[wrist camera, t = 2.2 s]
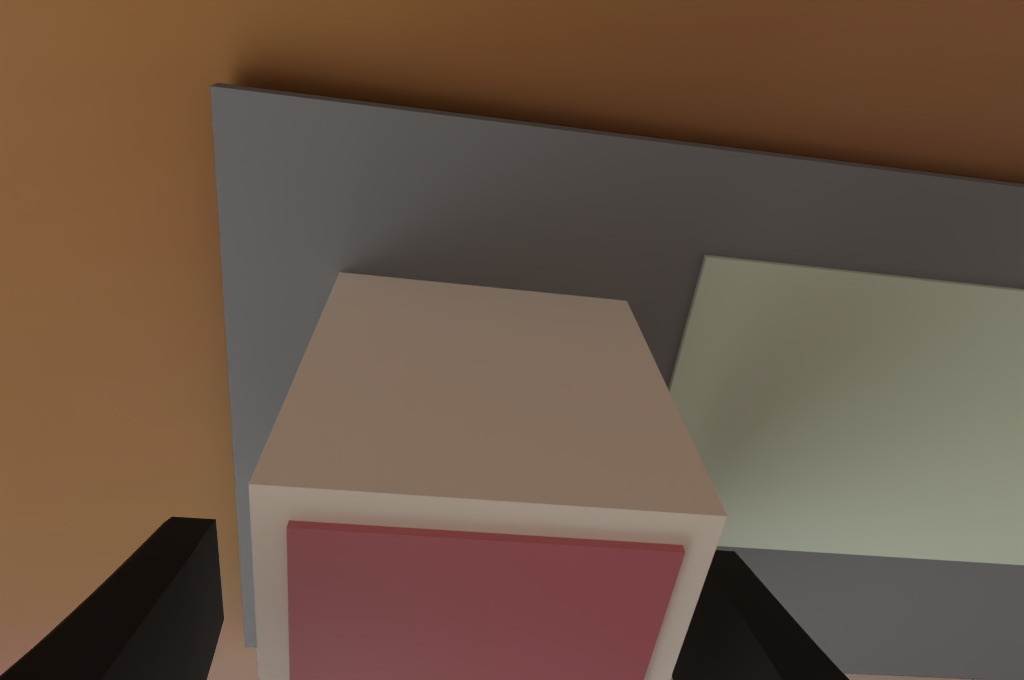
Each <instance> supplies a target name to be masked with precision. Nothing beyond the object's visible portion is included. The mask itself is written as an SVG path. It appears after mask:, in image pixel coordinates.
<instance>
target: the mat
mask: <svg viewBox="0 0 1024 680" xmlns="http://www.w3.org/2000/svg"><path fill="white" fill-rule="evenodd" d="M210 94H211V110H212V126H213V142H214V158H215V174H216V190H217V206H218V222H219V238H220V254H221V270H222V286H223V302H224V318H225V334H226V350H227V366H228V382H229V398H230V414H231V430H232V446H233V462H234V478H235V494H236V510H237V526H238V542H239V558H240V574H241V590H242V606H243V622H244V638H245V647H255V648H257V639H256V620H255V600H254V581H253V561H252V542H251V522H250V503H249V482H250V479H251V477H252V475H253V472H254V470H255V468H256V465H257V463H258V461H259V458H260V456H261V454H262V451H263V449H264V447H265V444H266V442H267V440H268V437H269V435H270V433H271V431H272V428H273V426H274V424H275V421H276V419H277V417H278V414H279V412H280V410H281V407H282V405H283V403H284V400H285V398H286V396H287V393H288V391H289V389H290V386H291V384H292V382H293V379H294V377H295V375H296V372H297V370H298V368H299V365H300V363H301V361H302V358H303V356H304V354H305V351H306V349H307V347H308V344H309V342H310V340H311V337H312V335H313V333H314V330H315V328H316V326H317V323H318V321H319V319H320V316H321V314H322V312H323V310H324V307H325V305H326V303H327V300H328V298H329V296H330V293H331V291H332V289H333V286H334V284H335V282H336V279H337V277H338V275H339V272H343V273H353V274H364V275H374V276H384V277H394V278H404V279H414V280H424V281H434V282H444V283H454V284H464V285H474V286H484V287H494V288H504V289H514V290H524V291H534V292H544V293H554V294H564V295H574V296H584V297H594V298H604V299H614V300H624V301H627V302H628V304H629V306H630V309H631V311H632V313H633V315H634V317H635V319H636V321H637V324H638V326H639V328H640V330H641V332H642V334H643V336H644V339H645V341H646V343H647V345H648V347H649V349H650V351H651V354H652V356H653V358H654V360H655V362H656V364H657V366H658V369H659V371H660V373H661V375H662V377H663V379H664V381H665V384H666V386H667V388H668V390H669V392H670V394H671V396H672V399H673V401H674V403H675V405H676V407H677V409H678V411H679V414H680V416H681V418H682V420H683V422H684V424H685V427H686V429H687V431H688V433H689V435H690V437H691V439H692V442H693V444H694V446H695V448H696V450H697V452H698V454H699V457H700V459H701V461H702V463H703V465H704V467H705V469H706V472H707V474H708V476H709V478H710V480H711V482H712V484H713V487H714V489H715V491H716V493H717V495H718V497H719V499H720V502H721V504H722V506H723V508H724V510H725V512H726V514H727V519H726V522H725V525H724V528H723V530H722V533H721V536H720V539H719V542H718V545H717V547H716V550H724V551H735V552H736V553H737V555H738V556H739V557H740V558H741V559H742V560H743V561H744V562H745V563H746V565H747V566H748V567H749V568H750V569H751V570H752V571H753V572H754V574H755V575H756V576H757V577H758V578H759V579H760V581H761V582H762V583H763V584H764V585H765V586H766V587H767V589H768V590H769V591H770V592H771V593H772V594H773V595H774V597H775V598H776V599H777V600H778V601H779V602H780V604H781V605H782V606H783V607H784V608H785V609H786V610H787V611H788V613H789V614H790V615H791V616H792V617H793V618H794V619H795V621H796V622H797V623H798V624H799V625H800V626H801V627H802V629H803V630H804V631H805V632H806V633H807V634H808V635H809V636H810V638H811V639H812V640H813V641H814V642H815V643H816V644H817V645H818V646H819V648H820V649H821V650H822V651H823V652H824V653H825V654H826V655H827V656H828V657H829V658H830V660H831V661H832V662H833V663H834V664H835V665H836V666H837V667H838V668H839V669H840V670H841V671H842V673H845V674H868V675H891V676H913V677H936V678H959V679H982V680H1024V184H1021V183H1013V182H1005V181H997V180H989V179H981V178H973V177H965V176H957V175H949V174H941V173H933V172H925V171H917V170H909V169H901V168H893V167H885V166H877V165H869V164H861V163H853V162H845V161H837V160H829V159H821V158H813V157H805V156H797V155H789V154H781V153H773V152H765V151H757V150H749V149H741V148H733V147H725V146H717V145H710V144H702V143H694V142H686V141H678V140H670V139H662V138H654V137H646V136H638V135H630V134H622V133H614V132H606V131H598V130H590V129H582V128H574V127H566V126H558V125H550V124H542V123H534V122H526V121H518V120H510V119H502V118H494V117H486V116H478V115H470V114H462V113H454V112H446V111H438V110H430V109H422V108H414V107H406V106H398V105H390V104H382V103H374V102H366V101H358V100H350V99H342V98H334V97H326V96H318V95H310V94H302V93H294V92H286V91H278V90H270V89H262V88H255V87H247V86H239V85H231V84H223V83H216V84H213V85H211V86H210Z"/></svg>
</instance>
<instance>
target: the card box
mask: <svg viewBox="0 0 1024 680" xmlns="http://www.w3.org/2000/svg"><path fill="white" fill-rule="evenodd" d="M249 503H250V522H251V542H252V561H253V581H254V600H255V620H256V639H257V659H258V678H259V680H670V679H671V676H672V673H673V670H674V667H675V664H676V661H677V659H678V656H679V653H680V650H681V647H682V644H683V642H684V639H685V636H686V633H687V630H688V627H689V624H690V622H691V619H692V616H693V613H694V610H695V607H696V604H697V602H698V599H699V596H700V593H701V590H702V587H703V585H704V582H705V579H706V576H707V573H708V570H709V567H710V565H711V562H712V559H713V556H714V553H715V550H716V547H717V545H718V542H719V539H720V536H721V533H722V530H723V528H724V525H725V522H726V519H727V514H726V512H725V510H724V508H723V506H722V504H721V502H720V499H719V497H718V495H717V493H716V491H715V489H714V487H713V484H712V482H711V480H710V478H709V476H708V474H707V472H706V469H705V467H704V465H703V463H702V461H701V459H700V457H699V454H698V452H697V450H696V448H695V446H694V444H693V442H692V439H691V437H690V435H689V433H688V431H687V429H686V427H685V424H684V422H683V420H682V418H681V416H680V414H679V411H678V409H677V407H676V405H675V403H674V401H673V399H672V396H671V394H670V392H669V390H668V388H667V386H666V384H665V381H664V379H663V377H662V375H661V373H660V371H659V369H658V366H657V364H656V362H655V360H654V358H653V356H652V354H651V351H650V349H649V347H648V345H647V343H646V341H645V339H644V336H643V334H642V332H641V330H640V328H639V326H638V324H637V321H636V319H635V317H634V315H633V313H632V311H631V309H630V306H629V304H628V302H627V301H624V300H614V299H604V298H594V297H584V296H574V295H564V294H554V293H544V292H534V291H524V290H514V289H504V288H494V287H484V286H474V285H464V284H454V283H444V282H434V281H424V280H414V279H404V278H394V277H384V276H374V275H364V274H353V273H343V272H339V275H338V277H337V279H336V282H335V284H334V286H333V289H332V291H331V293H330V296H329V298H328V300H327V303H326V305H325V307H324V310H323V312H322V314H321V316H320V319H319V321H318V323H317V326H316V328H315V330H314V333H313V335H312V337H311V340H310V342H309V344H308V347H307V349H306V351H305V354H304V356H303V358H302V361H301V363H300V365H299V368H298V370H297V372H296V375H295V377H294V379H293V382H292V384H291V386H290V389H289V391H288V393H287V396H286V398H285V400H284V403H283V405H282V407H281V410H280V412H279V414H278V417H277V419H276V421H275V424H274V426H273V428H272V431H271V433H270V435H269V437H268V440H267V442H266V444H265V447H264V449H263V451H262V454H261V456H260V458H259V461H258V463H257V465H256V468H255V470H254V472H253V475H252V477H251V479H250V482H249Z"/></svg>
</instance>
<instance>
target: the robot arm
mask: <svg viewBox="0 0 1024 680" xmlns="http://www.w3.org/2000/svg"><path fill="white" fill-rule="evenodd" d="M223 620H224V613H223V601H222V589H221V577H220V565H219V553H218V541H217V529H216V519H200V518H184V517H171V518H170V519H168V520H167V521H166V522H164V523H163V524H162V525H161V526H160V527H159V528H158V529H157V530H156V531H155V532H154V533H153V534H152V535H151V536H150V537H149V538H148V539H147V540H146V541H145V542H144V543H143V544H142V545H141V546H140V547H139V548H138V549H137V550H136V551H135V552H134V553H133V554H132V555H131V556H130V557H129V558H128V559H127V560H126V561H125V562H124V563H123V564H122V565H121V566H120V567H119V568H118V569H117V570H116V571H115V572H114V573H113V574H112V575H111V576H110V577H109V578H108V579H107V580H106V581H105V582H104V583H103V584H101V585H100V586H99V587H98V588H97V589H96V590H95V591H94V592H93V593H92V594H91V595H90V596H89V597H88V598H87V599H86V600H85V601H84V602H82V603H81V604H80V605H79V606H78V607H77V608H76V609H75V610H74V611H73V612H72V613H71V614H70V615H68V616H67V617H66V618H65V619H64V620H63V621H62V622H61V623H60V624H59V625H58V626H57V627H55V628H54V629H53V630H52V631H51V632H50V633H49V634H48V635H47V636H46V637H45V638H43V639H42V640H41V641H40V642H39V643H38V644H37V645H36V646H35V647H33V648H32V649H31V650H30V651H29V652H28V653H26V654H25V655H24V656H23V657H22V658H21V659H19V660H18V661H17V662H16V663H15V664H14V665H12V666H11V667H10V668H9V669H8V670H7V671H5V672H4V673H3V674H2V675H1V676H0V680H207V676H208V673H209V670H210V666H211V663H212V660H213V656H214V653H215V649H216V645H217V642H218V638H219V635H220V631H221V628H222V624H223ZM672 678H673V680H849V679H848V678H847V677H846V676H845V675H844V674H843V673H842V671H841V670H840V669H839V668H838V667H837V666H836V665H835V664H834V663H833V662H832V661H831V660H830V658H829V657H828V656H827V655H826V654H825V653H824V652H823V651H822V650H821V649H820V648H819V646H818V645H817V644H816V643H815V642H814V641H813V640H812V639H811V638H810V636H809V635H808V634H807V633H806V632H805V631H804V630H803V629H802V627H801V626H800V625H799V624H798V623H797V622H796V621H795V619H794V618H793V617H792V616H791V615H790V614H789V613H788V611H787V610H786V609H785V608H784V607H783V606H782V605H781V604H780V602H779V601H778V600H777V599H776V598H775V597H774V595H773V594H772V593H771V592H770V591H769V590H768V589H767V587H766V586H765V585H764V584H763V583H762V582H761V581H760V579H759V578H758V577H757V576H756V575H755V574H754V572H753V571H752V570H751V569H750V568H749V567H748V566H747V565H746V563H745V562H744V561H743V560H742V559H741V558H740V557H739V556H738V555H737V553H736V552H735V551H724V550H715V553H714V556H713V559H712V562H711V565H710V567H709V570H708V573H707V576H706V579H705V582H704V585H703V587H702V590H701V593H700V596H699V599H698V602H697V604H696V607H695V610H694V613H693V616H692V619H691V622H690V624H689V627H688V630H687V633H686V636H685V639H684V642H683V644H682V647H681V650H680V653H679V656H678V659H677V661H676V664H675V667H674V670H673V673H672Z"/></svg>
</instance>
